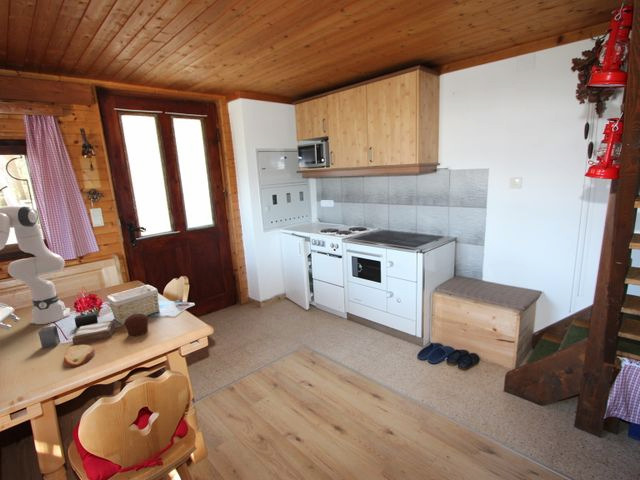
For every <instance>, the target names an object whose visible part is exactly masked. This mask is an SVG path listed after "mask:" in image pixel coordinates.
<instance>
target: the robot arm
mask: <svg viewBox="0 0 640 480" xmlns="http://www.w3.org/2000/svg"><path fill="white" fill-rule="evenodd" d="M38 219H39V216H38V212H37V211H36V210H35V209H34V208H33V207H29V206H2V207H0V251H1V250H3V249H4V248H5V247H6V244H7V243H8V240H9V237H10V232H11V228H13V229H14V233H15V234H14V235H15V238H16V243H17V246H18V249H20V251H22V252H24V253H26V254H27V253H28V254H32V255H34V257H28V258H21V259H17V260H14V261H11V262H9V264H8V267H7V273H8V275H9V276H10V277H12V278H14V279H17V280H19V281H21V282H23V283H24V284H25V285H26V286H27V287H28V289H29V291H30V294H31V297H32V299H31V300H32V305H33V308H32V309H31V314H32V320H31V321H30V324H35V325H46V324H50V323H53V322H57V321H60V320H62V319H65V318H67V317H69V316H70V312H71V308H70V307H66V305H65V302H63V301H62V300H60V298H59V297H60V294H59V293H58V292H56V288H55V287H56V286H55V284H54V282H53V281H51V280H47V279H44V278H41V277H40V276H42V275H49V274H54V273H57V272H60V271H63V269H64V268H65V266H66V261H65V259H64V257H62V256H61V255H60V254H57V253H55V252H52V251H51V250H50V249H49V248H48V247H47V245H46V244H45V241H44V239H43V235H42V231H41V229H40V226H39V224H38ZM15 311H16V310H15V308H13V307H12V306H10V305H8V304H6V303H4V302H0V329H2V330H3V329H4V330H6V331H9V330H10V329H11V328H12V325H11V324H5V323H3V322H4V321H5V320H7V319H11V320H12V321H13V322H14V323H19V322H20V320H21V318H20V317H18V316H17V315H15V314H14V312H15Z"/></svg>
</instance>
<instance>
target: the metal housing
mask: <svg viewBox="0 0 640 480" xmlns="http://www.w3.org/2000/svg"><path fill="white" fill-rule="evenodd" d="M57 326H58V325H53V326H48V327H42V328H41V329H40V330H39V331H38V333H37V334H38V337H39V341H40V344H41V345H40V346H41V348H42V350H45V349H49V348H55V347H58V345H59V344H60V343H61V339H60V335H59V332H58V327H57Z"/></svg>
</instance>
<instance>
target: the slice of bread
mask: <svg viewBox="0 0 640 480" xmlns="http://www.w3.org/2000/svg"><path fill="white" fill-rule="evenodd" d="M95 354H96V353H95V349H94V347H93V346H91V345H88V344H80V345H75V346H74V345H72V346H70V347H69V348H67V350H66V352H65V353H64V358H63V364H64V366H66V367H68V368H78V367H79V368H80V366H83V365H85V364H87V362H89V361H90V360H92V359H93V357H94V356H95Z"/></svg>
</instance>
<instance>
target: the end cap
mask: <svg viewBox="0 0 640 480" xmlns="http://www.w3.org/2000/svg"><path fill="white" fill-rule="evenodd" d="M74 323H75V327H76V329H78V328H79V327H81V326H86V325H91V324H96V323H99V321H98V317H97V313H96V311H92V312H89V313H88V314H84V315H83V314H80V315H76V316H75V317H74Z"/></svg>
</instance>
